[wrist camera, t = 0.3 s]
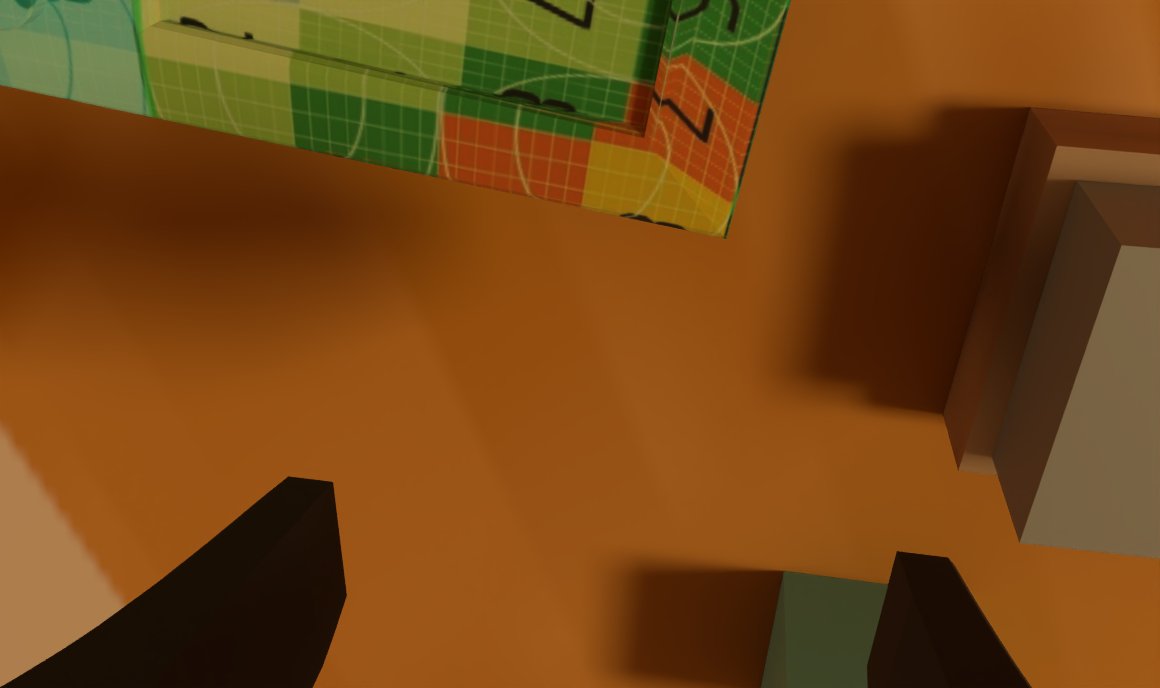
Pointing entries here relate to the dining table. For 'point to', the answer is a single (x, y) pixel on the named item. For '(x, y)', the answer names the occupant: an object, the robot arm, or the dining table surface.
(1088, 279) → the beige square block
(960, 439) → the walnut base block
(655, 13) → the puzzle game
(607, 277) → the dining table surface
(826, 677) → the teal cube
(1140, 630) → the dining table surface
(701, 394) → the dining table surface
